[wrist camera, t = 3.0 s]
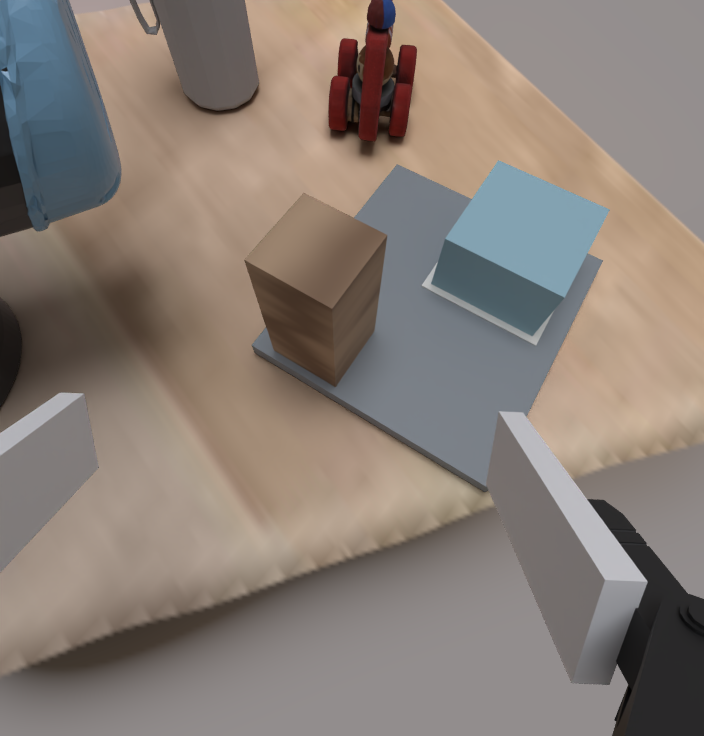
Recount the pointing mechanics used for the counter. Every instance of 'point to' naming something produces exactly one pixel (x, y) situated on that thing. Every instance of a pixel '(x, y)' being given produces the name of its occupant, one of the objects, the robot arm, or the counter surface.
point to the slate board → (438, 340)
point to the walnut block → (318, 286)
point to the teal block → (518, 247)
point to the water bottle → (208, 49)
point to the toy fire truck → (373, 78)
